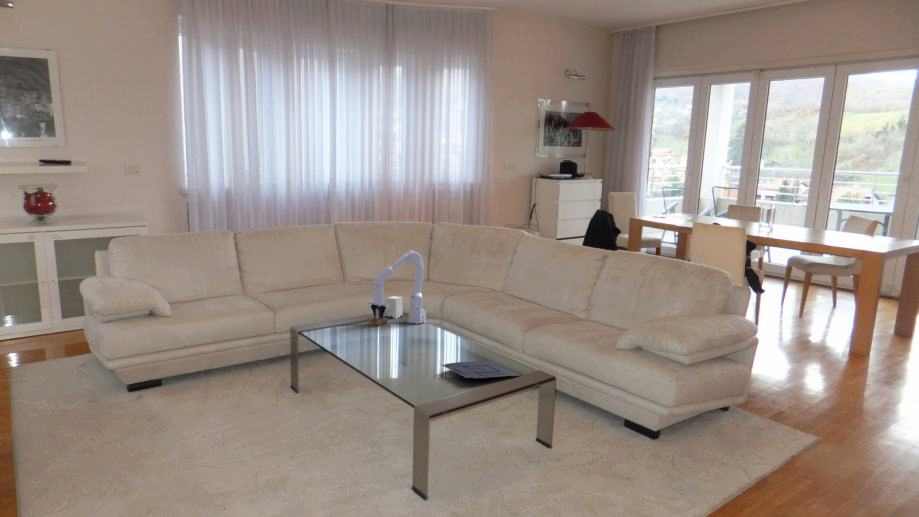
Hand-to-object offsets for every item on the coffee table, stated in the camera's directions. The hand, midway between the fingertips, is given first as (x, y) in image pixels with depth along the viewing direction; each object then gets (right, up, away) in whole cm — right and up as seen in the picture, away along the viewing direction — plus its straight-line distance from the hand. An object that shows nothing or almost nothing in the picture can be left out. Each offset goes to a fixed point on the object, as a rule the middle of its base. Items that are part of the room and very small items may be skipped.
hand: (378, 317), depth 350 cm
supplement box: (+7, -2, +21) cm, 22 cm away
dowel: (0, -4, +1) cm, 4 cm away
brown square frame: (0, -4, +1) cm, 4 cm away
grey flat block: (+58, -18, -83) cm, 103 cm away
